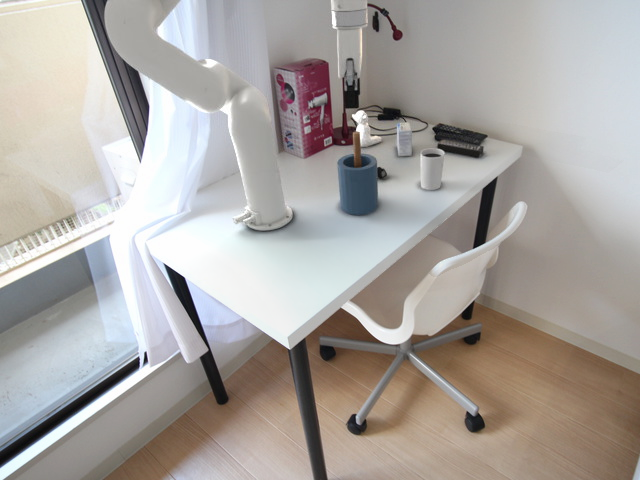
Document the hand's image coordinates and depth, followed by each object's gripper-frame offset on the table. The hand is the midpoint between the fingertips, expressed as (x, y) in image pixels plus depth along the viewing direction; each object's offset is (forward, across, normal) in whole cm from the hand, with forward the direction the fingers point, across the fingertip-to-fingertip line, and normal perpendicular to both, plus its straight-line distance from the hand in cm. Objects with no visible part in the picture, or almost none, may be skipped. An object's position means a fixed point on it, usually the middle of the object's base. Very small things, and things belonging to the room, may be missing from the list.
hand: (352, 101), depth 102 cm
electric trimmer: (+27, -20, +1) cm, 33 cm away
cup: (+28, 0, +1) cm, 28 cm away
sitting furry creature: (+28, -43, +1) cm, 52 cm away
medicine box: (+28, -36, +15) cm, 48 cm away
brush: (+28, 0, +1) cm, 28 cm away
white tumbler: (+28, -11, +21) cm, 37 cm away
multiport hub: (+28, -34, +33) cm, 55 cm away
